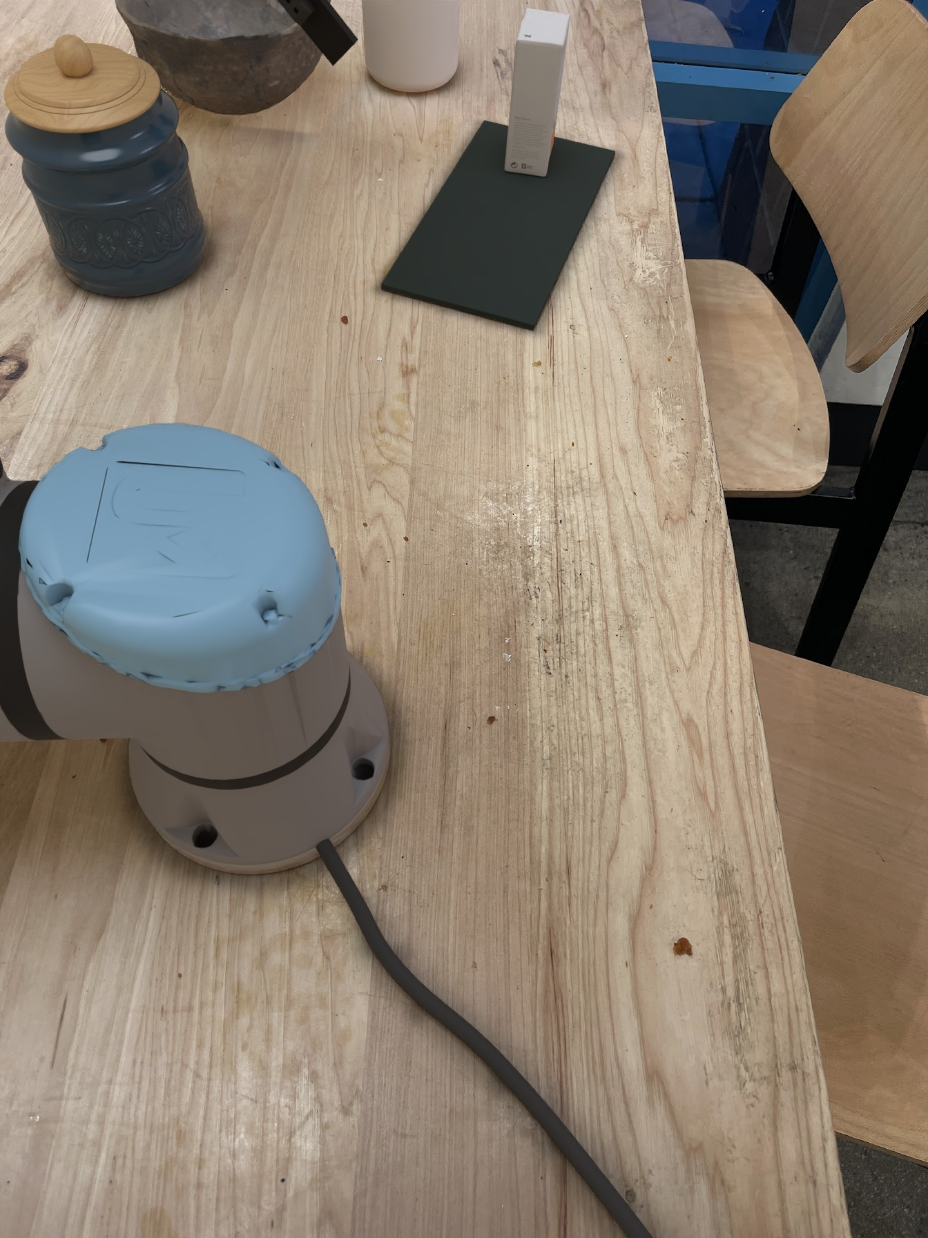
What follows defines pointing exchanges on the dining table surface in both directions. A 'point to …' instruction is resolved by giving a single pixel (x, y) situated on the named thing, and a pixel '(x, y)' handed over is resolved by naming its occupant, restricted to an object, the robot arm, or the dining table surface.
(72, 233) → the canister
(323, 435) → the dining table surface
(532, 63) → the cosmetic box
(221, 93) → the bowl
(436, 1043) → the dining table surface
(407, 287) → the mat
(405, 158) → the dining table surface
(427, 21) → the cup
